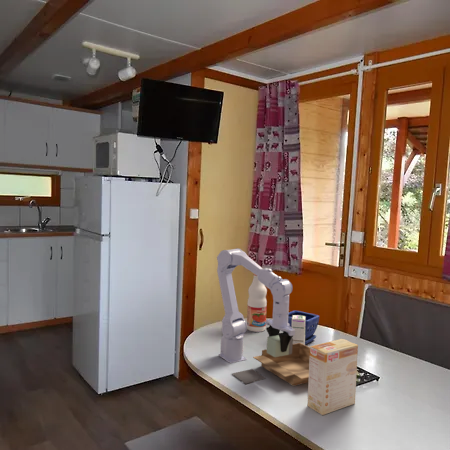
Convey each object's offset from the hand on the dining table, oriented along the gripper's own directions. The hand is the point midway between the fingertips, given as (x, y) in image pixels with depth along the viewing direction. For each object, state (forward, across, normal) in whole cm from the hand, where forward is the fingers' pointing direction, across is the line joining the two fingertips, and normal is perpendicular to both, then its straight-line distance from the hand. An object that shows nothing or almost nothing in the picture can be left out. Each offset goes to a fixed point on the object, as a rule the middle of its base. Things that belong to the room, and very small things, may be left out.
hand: (278, 348), depth 156 cm
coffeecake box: (+9, -27, 0) cm, 28 cm away
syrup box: (+10, +15, -23) cm, 29 cm away
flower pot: (+10, +24, -32) cm, 41 cm away
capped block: (+2, 0, 0) cm, 2 cm away
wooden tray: (+9, -4, -6) cm, 11 cm away
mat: (+9, +2, +11) cm, 15 cm away
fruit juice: (+10, +46, -23) cm, 52 cm away
